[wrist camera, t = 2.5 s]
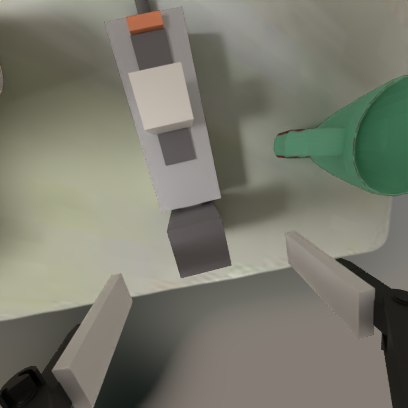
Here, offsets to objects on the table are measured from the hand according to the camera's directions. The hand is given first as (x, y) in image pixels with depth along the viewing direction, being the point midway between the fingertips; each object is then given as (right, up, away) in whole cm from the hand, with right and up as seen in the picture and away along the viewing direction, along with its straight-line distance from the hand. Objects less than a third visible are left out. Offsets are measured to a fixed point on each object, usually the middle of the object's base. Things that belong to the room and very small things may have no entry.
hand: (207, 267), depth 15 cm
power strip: (-5, +20, +7) cm, 21 cm away
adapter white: (-4, +14, +4) cm, 15 cm away
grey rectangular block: (-2, +5, +11) cm, 12 cm away
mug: (+13, +13, +11) cm, 21 cm away
